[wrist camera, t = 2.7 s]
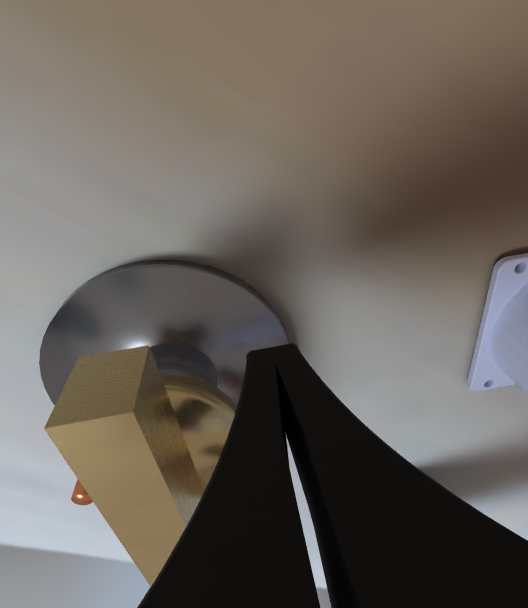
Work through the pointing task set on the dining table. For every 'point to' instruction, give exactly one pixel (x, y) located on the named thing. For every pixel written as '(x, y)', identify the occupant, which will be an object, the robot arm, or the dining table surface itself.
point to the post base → (162, 326)
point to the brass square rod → (140, 446)
